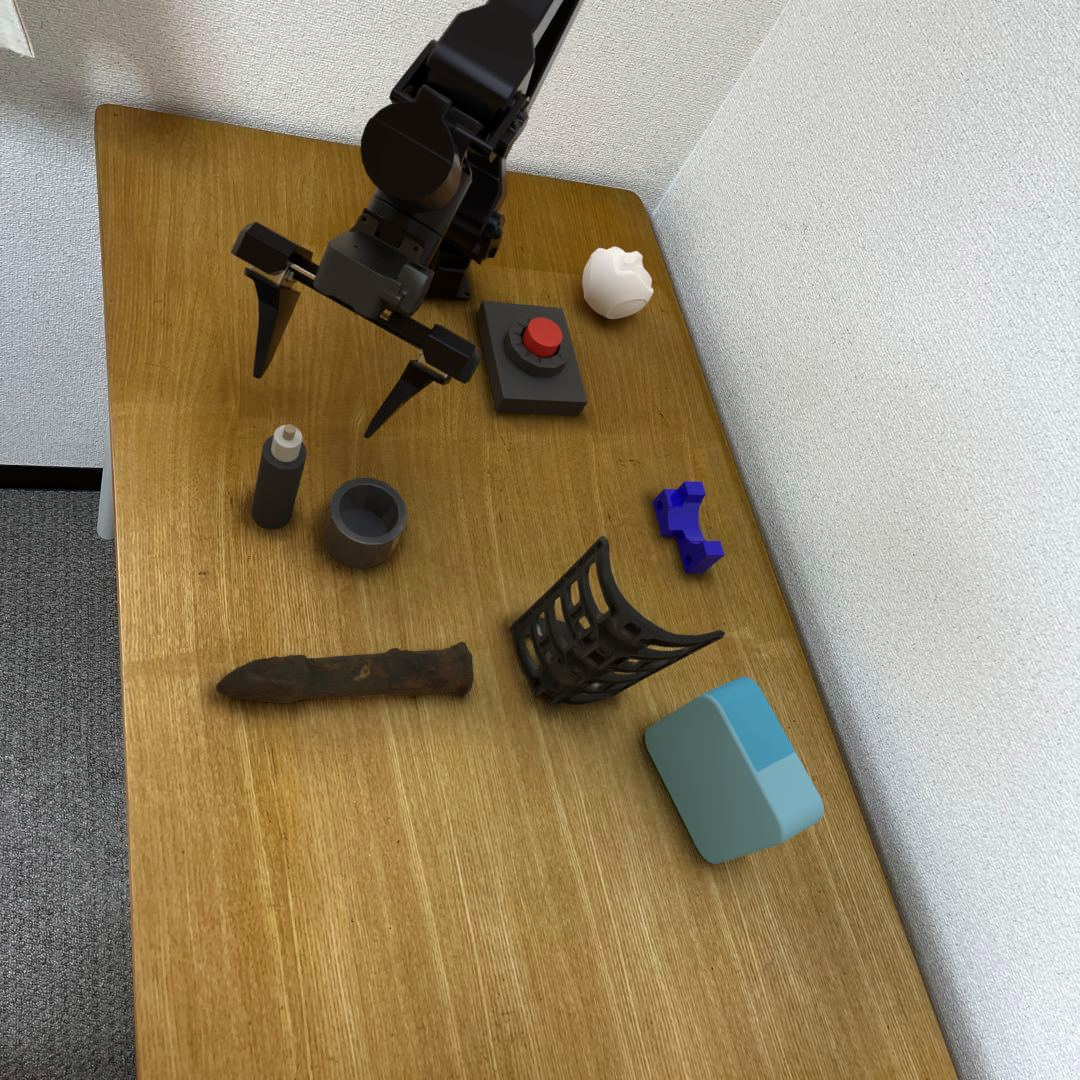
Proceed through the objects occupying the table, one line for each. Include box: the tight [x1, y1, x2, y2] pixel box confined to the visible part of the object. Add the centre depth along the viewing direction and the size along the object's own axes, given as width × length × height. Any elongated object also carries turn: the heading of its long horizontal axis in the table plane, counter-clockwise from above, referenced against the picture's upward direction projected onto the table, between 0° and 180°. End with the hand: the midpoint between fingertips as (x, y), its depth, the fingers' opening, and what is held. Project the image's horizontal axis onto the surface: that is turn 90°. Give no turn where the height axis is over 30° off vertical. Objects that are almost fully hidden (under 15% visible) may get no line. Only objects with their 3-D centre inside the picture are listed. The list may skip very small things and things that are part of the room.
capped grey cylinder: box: [250, 423, 308, 530], centre depth 69 cm, size 3×3×12 cm
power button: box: [522, 317, 562, 357], centre depth 88 cm, size 4×4×2 cm
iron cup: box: [321, 476, 408, 569], centre depth 74 cm, size 6×6×4 cm
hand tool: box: [215, 640, 475, 704], centre depth 68 cm, size 19×4×5 cm, turn 99°
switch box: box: [475, 300, 589, 416], centre depth 90 cm, size 12×9×4 cm
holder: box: [509, 535, 726, 707], centre depth 69 cm, size 11×8×20 cm
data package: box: [644, 676, 825, 865], centre depth 71 cm, size 12×4×12 cm, turn 27°
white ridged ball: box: [581, 246, 654, 320], centre depth 97 cm, size 8×8×8 cm
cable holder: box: [652, 480, 726, 575], centre depth 87 cm, size 8×4×4 cm, turn 12°
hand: (312, 407), depth 68 cm, fingers open, 9 cm apart
